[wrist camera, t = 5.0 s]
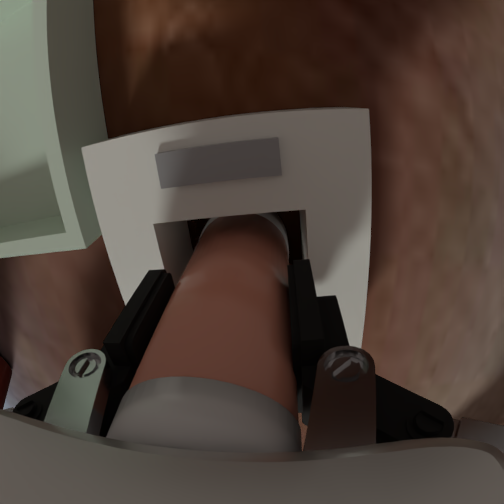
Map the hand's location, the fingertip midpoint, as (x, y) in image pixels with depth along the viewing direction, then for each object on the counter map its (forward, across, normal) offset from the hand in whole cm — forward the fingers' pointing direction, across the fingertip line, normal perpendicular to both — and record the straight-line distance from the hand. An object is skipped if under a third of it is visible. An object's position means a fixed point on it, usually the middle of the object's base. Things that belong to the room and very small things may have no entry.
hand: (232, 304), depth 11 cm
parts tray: (+5, +12, -9) cm, 16 cm away
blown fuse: (+5, 0, 0) cm, 5 cm away
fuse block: (+5, 0, 0) cm, 5 cm away
